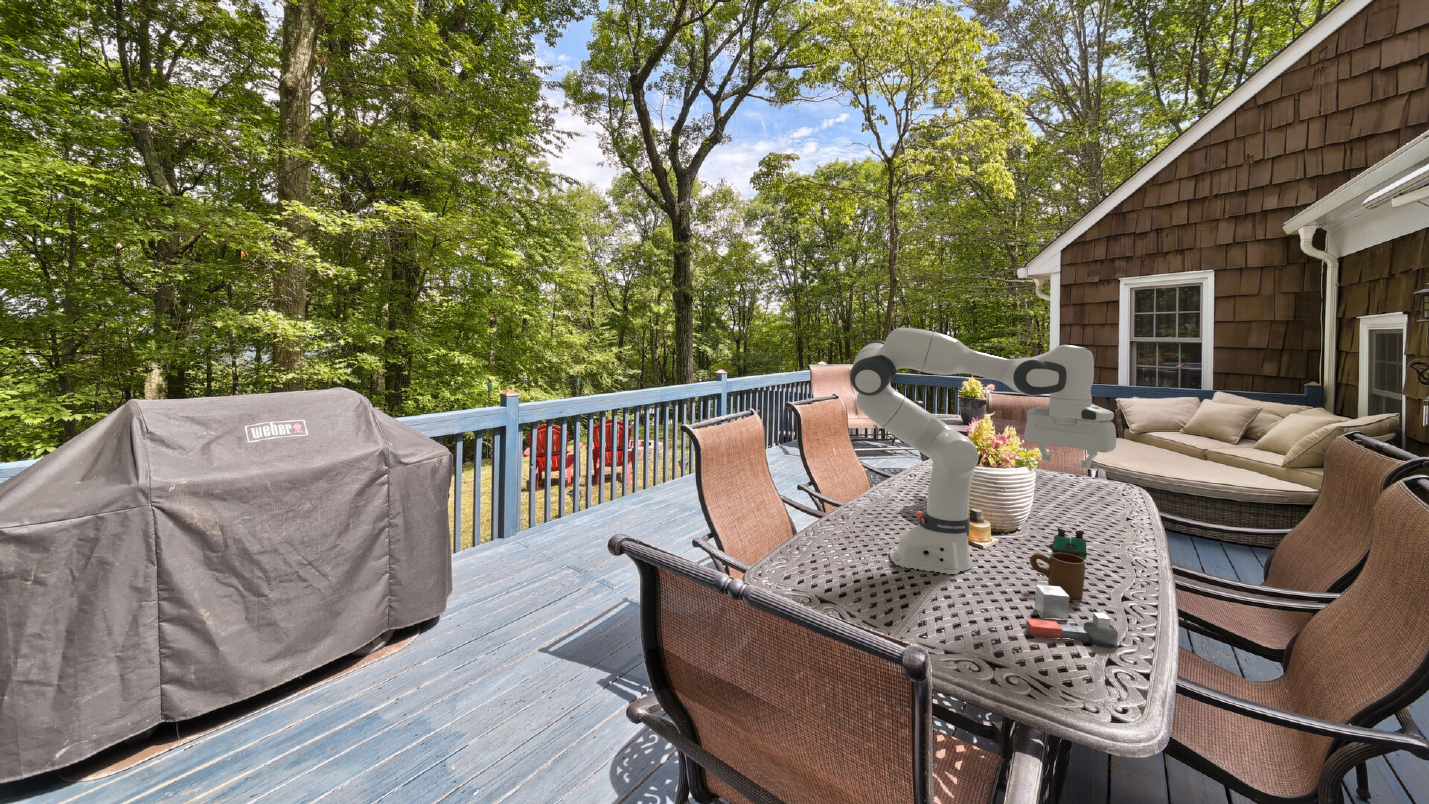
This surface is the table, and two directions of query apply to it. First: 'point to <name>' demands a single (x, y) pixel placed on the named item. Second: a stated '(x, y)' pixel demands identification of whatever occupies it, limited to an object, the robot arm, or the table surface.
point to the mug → (1062, 572)
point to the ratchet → (1077, 630)
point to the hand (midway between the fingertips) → (1065, 464)
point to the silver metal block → (1051, 602)
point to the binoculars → (1069, 544)
